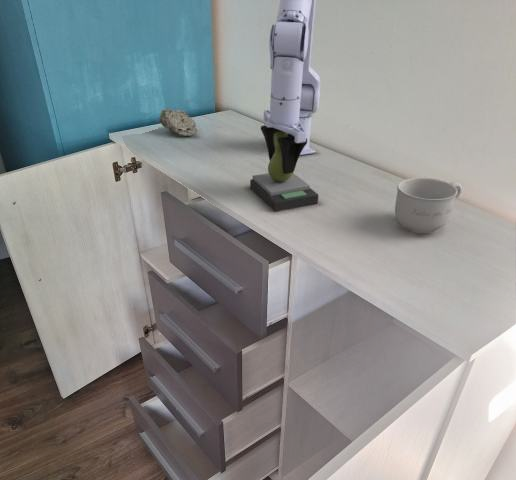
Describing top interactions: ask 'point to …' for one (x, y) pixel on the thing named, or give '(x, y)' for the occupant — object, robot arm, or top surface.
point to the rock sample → (178, 122)
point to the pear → (277, 160)
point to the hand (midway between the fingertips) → (281, 167)
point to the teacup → (425, 203)
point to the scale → (283, 192)
